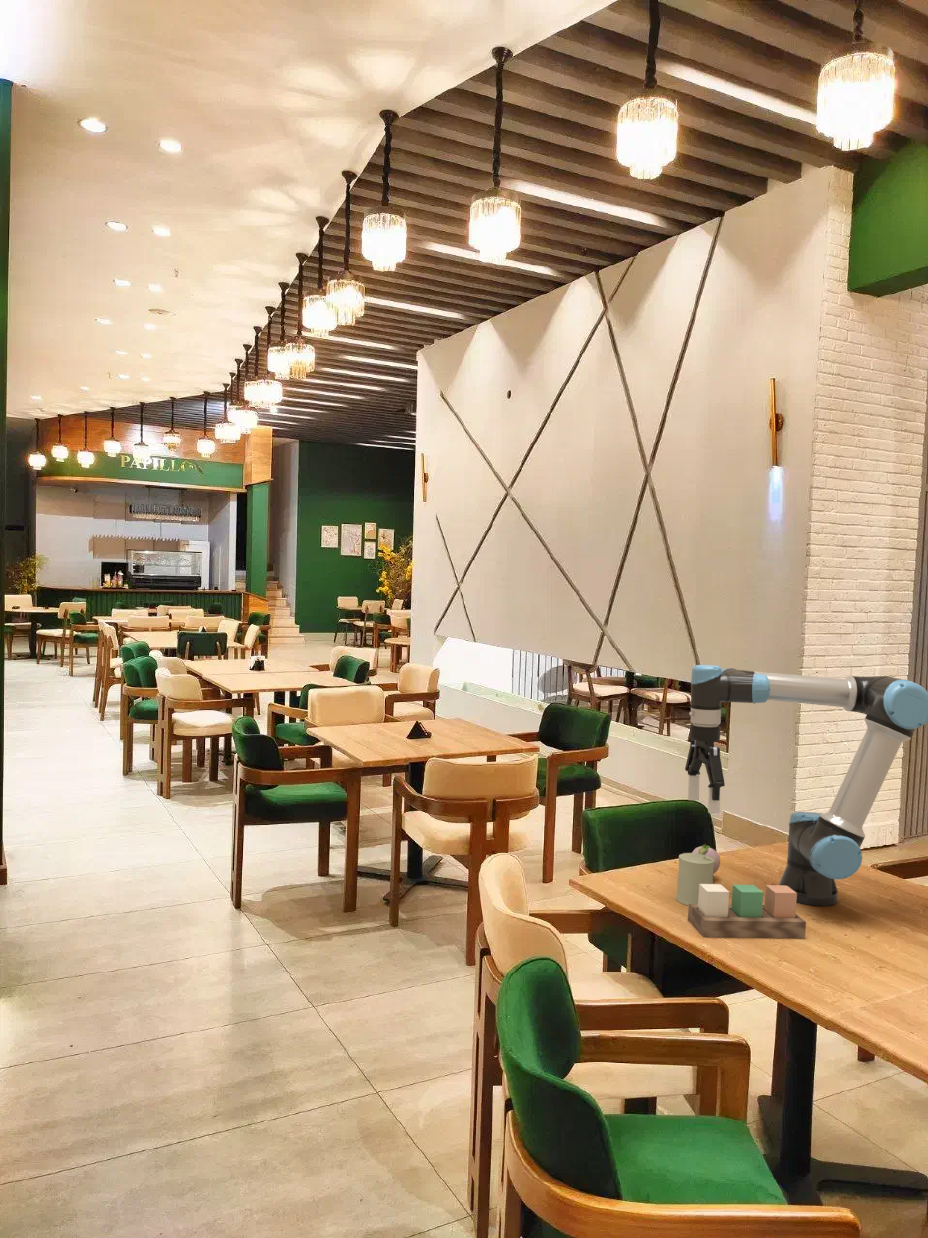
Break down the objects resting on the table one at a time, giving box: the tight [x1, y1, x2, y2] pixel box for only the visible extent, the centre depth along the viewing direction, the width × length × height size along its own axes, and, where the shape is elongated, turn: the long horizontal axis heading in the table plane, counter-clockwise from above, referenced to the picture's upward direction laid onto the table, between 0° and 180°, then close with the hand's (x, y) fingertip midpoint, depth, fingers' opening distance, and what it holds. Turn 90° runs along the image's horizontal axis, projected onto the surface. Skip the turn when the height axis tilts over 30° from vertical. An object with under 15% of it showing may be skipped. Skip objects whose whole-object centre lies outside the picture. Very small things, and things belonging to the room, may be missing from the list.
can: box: [675, 852, 714, 907], centre depth 234 cm, size 9×9×12 cm
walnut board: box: [687, 904, 807, 939], centre depth 216 cm, size 25×11×4 cm, turn 95°
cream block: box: [698, 883, 730, 917], centre depth 215 cm, size 5×5×7 cm
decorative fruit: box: [691, 843, 721, 875], centre depth 254 cm, size 9×8×10 cm
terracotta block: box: [764, 884, 797, 918], centre depth 216 cm, size 5×5×7 cm
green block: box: [730, 884, 764, 918], centre depth 215 cm, size 5×5×7 cm
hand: (703, 806), depth 229 cm, fingers open, 13 cm apart
